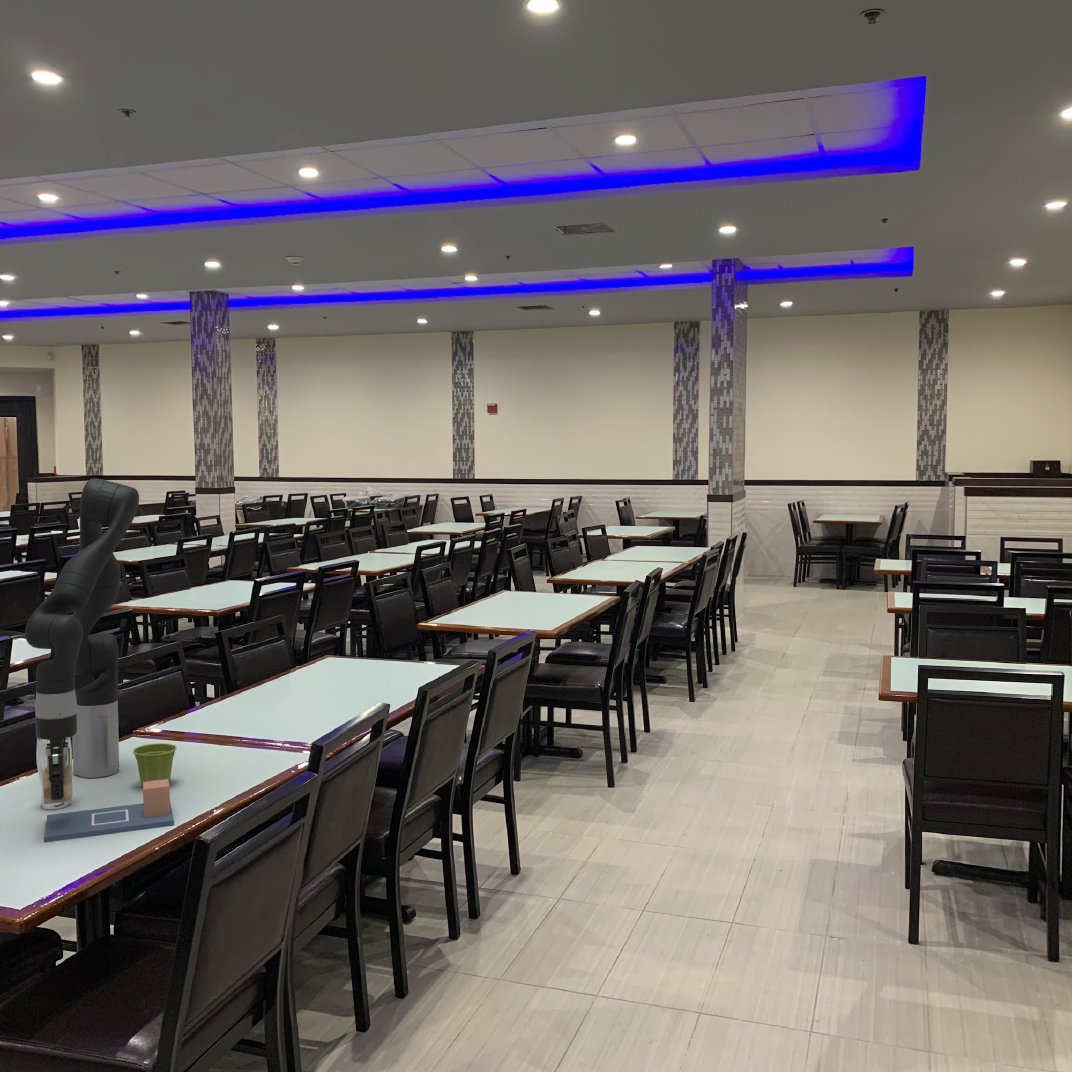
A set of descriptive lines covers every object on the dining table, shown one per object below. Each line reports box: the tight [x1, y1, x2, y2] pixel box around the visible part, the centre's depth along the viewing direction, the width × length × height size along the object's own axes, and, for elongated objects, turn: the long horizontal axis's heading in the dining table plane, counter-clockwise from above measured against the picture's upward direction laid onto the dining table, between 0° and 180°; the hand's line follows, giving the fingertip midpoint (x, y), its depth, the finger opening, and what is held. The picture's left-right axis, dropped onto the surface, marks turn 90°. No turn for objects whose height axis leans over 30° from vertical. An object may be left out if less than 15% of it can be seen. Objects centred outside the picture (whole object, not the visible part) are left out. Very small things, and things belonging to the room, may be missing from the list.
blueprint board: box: [43, 802, 175, 843], centre depth 206 cm, size 24×13×1 cm, turn 114°
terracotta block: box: [142, 779, 171, 817], centre depth 209 cm, size 5×5×6 cm
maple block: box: [43, 764, 73, 804], centre depth 201 cm, size 5×5×6 cm
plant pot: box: [132, 742, 178, 788], centre depth 228 cm, size 9×9×9 cm
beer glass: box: [36, 736, 73, 811], centre depth 215 cm, size 7×7×15 cm
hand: (58, 793), depth 202 cm, fingers closed on maple block, 5 cm apart
